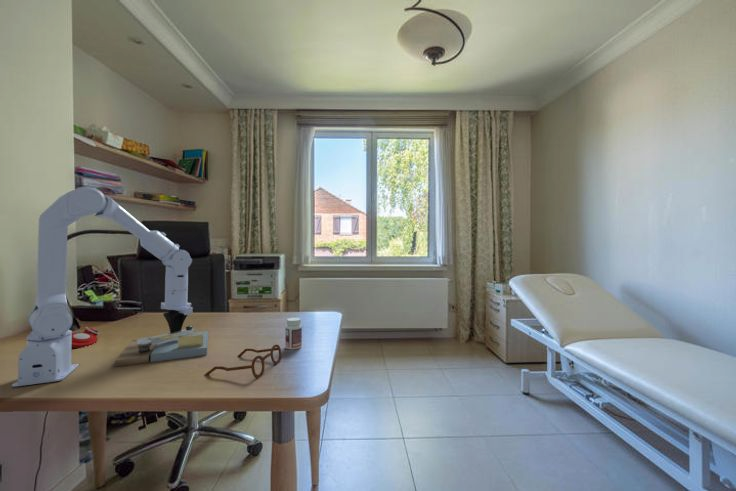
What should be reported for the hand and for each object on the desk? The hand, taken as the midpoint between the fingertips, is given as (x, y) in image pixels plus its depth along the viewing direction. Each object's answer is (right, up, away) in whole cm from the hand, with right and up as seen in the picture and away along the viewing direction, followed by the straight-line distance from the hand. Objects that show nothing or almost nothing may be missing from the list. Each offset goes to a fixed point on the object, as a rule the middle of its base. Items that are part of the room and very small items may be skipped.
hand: (175, 336), depth 92 cm
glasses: (+26, -4, -14) cm, 30 cm away
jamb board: (-6, -3, -6) cm, 9 cm away
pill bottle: (+35, -4, +1) cm, 35 cm away
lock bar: (0, 0, -4) cm, 4 cm away
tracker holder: (-30, -3, +3) cm, 30 cm away
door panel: (+3, -3, -1) cm, 4 cm away
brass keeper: (+7, -1, -4) cm, 8 cm away
